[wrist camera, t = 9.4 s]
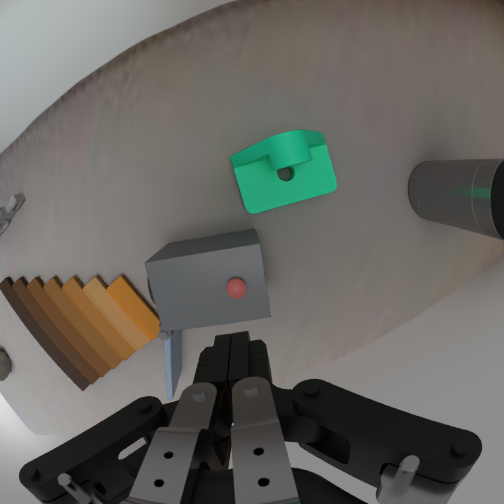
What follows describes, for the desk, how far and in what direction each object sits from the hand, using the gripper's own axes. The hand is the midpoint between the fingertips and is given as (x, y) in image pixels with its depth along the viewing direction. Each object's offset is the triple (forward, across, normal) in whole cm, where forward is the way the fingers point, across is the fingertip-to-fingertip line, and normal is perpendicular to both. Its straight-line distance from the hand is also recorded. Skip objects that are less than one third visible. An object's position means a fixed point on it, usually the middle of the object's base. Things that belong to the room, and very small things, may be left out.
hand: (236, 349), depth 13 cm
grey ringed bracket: (+26, +40, -12) cm, 49 cm away
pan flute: (+26, +30, +5) cm, 40 cm away
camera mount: (+27, -7, -8) cm, 29 cm away
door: (+25, +13, +13) cm, 31 cm away
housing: (+26, +5, +3) cm, 27 cm away
